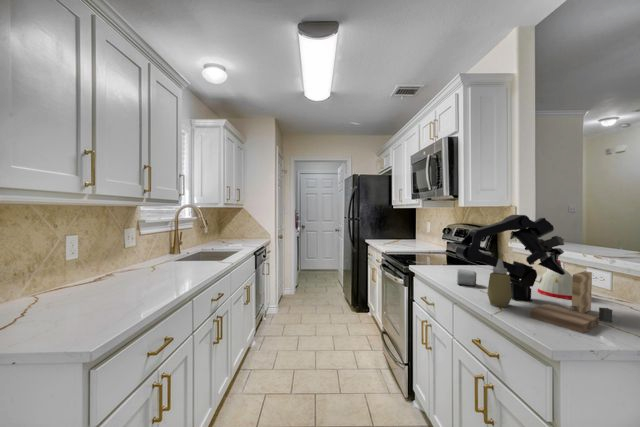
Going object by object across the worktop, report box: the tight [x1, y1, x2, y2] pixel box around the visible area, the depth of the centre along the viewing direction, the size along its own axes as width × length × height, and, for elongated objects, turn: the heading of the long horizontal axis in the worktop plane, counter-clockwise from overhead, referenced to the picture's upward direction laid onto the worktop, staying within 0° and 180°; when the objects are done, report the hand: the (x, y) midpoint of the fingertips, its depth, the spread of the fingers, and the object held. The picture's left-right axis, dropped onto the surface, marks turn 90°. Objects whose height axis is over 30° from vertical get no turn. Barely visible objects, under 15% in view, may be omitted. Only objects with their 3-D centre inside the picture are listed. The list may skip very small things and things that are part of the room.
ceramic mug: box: [456, 267, 477, 287], centre depth 139 cm, size 11×8×8 cm
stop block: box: [598, 307, 613, 323], centre depth 95 cm, size 2×2×4 cm
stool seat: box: [529, 303, 600, 334], centre depth 94 cm, size 13×14×2 cm
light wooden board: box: [569, 270, 593, 314], centre depth 101 cm, size 13×2×14 cm, turn 120°
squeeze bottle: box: [486, 258, 512, 308], centre depth 109 cm, size 8×8×18 cm
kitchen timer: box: [537, 259, 573, 300], centre depth 123 cm, size 14×14×15 cm
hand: (563, 274), depth 105 cm, fingers closed
